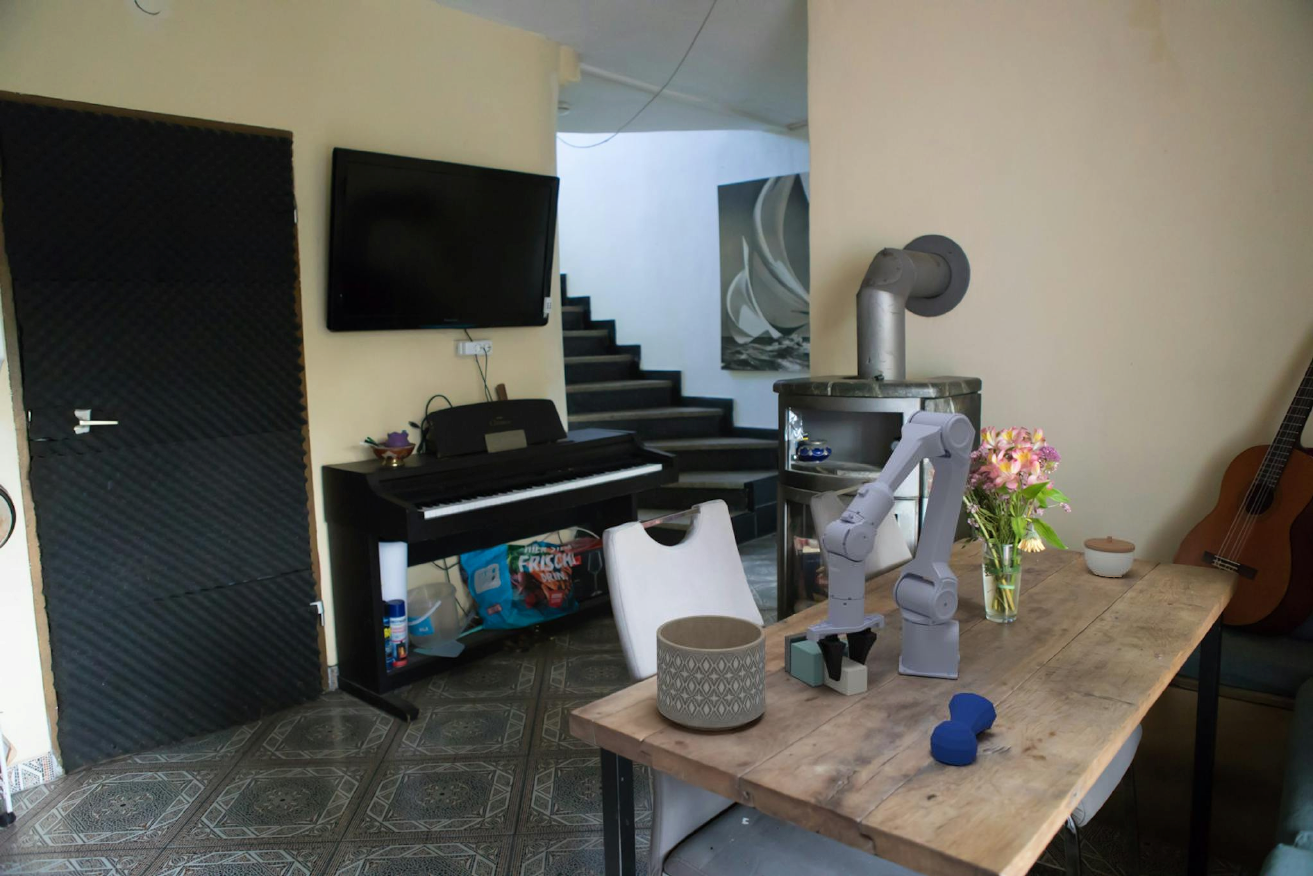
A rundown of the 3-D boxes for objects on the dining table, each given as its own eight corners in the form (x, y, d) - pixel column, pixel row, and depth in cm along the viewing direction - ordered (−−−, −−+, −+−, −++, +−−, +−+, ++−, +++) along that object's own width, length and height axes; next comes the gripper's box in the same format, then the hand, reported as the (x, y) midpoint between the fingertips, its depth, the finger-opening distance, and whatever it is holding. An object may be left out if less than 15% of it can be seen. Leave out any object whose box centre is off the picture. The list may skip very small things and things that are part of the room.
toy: (951, 724, 132) (920, 760, 120) (953, 683, 132) (922, 715, 119) (999, 735, 128) (973, 773, 116) (1001, 693, 128) (974, 727, 115)
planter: (734, 746, 124) (734, 658, 123) (636, 720, 133) (635, 638, 131) (782, 704, 138) (783, 625, 136) (691, 683, 147) (690, 609, 145)
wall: (827, 664, 155) (827, 631, 154) (789, 672, 151) (790, 638, 150) (821, 661, 156) (821, 628, 155) (784, 670, 152) (784, 636, 151)
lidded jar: (1091, 580, 206) (1092, 540, 205) (1077, 568, 217) (1078, 530, 216) (1140, 581, 204) (1142, 541, 203) (1124, 569, 215) (1126, 531, 214)
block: (856, 676, 149) (856, 645, 148) (813, 686, 144) (813, 654, 144) (832, 665, 154) (833, 634, 153) (790, 674, 150) (791, 643, 149)
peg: (866, 691, 143) (867, 667, 142) (847, 696, 141) (847, 671, 140) (827, 671, 151) (827, 648, 151) (808, 675, 150) (808, 652, 149)
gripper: (864, 583, 150) (863, 660, 151) (794, 595, 143) (794, 676, 144) (893, 593, 143) (892, 674, 145) (822, 606, 137) (822, 691, 138)
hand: (845, 676), depth 144 cm, fingers closed on peg, 4 cm apart
